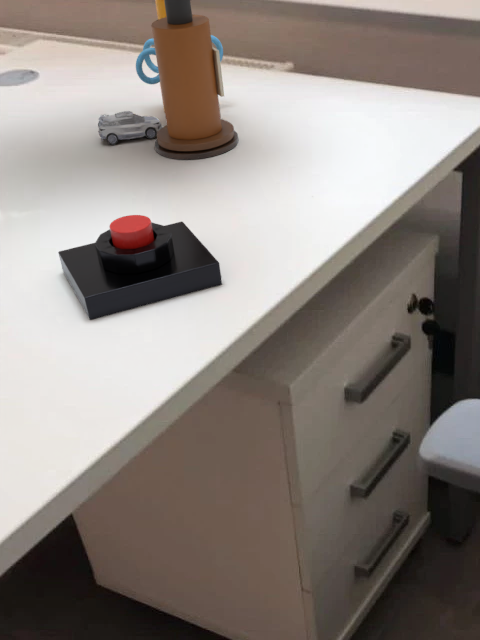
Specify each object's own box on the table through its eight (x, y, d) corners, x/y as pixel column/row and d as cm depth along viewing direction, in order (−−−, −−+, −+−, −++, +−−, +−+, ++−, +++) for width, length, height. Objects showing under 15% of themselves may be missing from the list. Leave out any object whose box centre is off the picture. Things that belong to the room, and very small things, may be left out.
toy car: (166, 137, 109) (162, 112, 107) (101, 146, 107) (96, 122, 105) (162, 127, 112) (158, 103, 110) (99, 137, 110) (94, 112, 108)
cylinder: (224, 125, 111) (209, -7, 101) (142, 130, 111) (119, -1, 102) (230, 94, 120) (216, -29, 111) (154, 99, 121) (134, -23, 111)
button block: (90, 321, 75) (79, 278, 72) (63, 273, 82) (53, 232, 79) (222, 285, 78) (216, 243, 76) (185, 242, 85) (179, 202, 83)
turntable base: (170, 166, 101) (169, 160, 101) (145, 140, 108) (144, 135, 108) (251, 148, 104) (250, 142, 104) (221, 124, 111) (220, 119, 111)
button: (119, 255, 76) (115, 236, 75) (108, 239, 78) (104, 220, 77) (159, 245, 77) (156, 226, 76) (147, 229, 79) (144, 211, 78)
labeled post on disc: (171, 157, 101) (142, -31, 89) (148, 134, 108) (117, -44, 96) (246, 140, 104) (227, -44, 92) (219, 118, 110) (198, -56, 98)
